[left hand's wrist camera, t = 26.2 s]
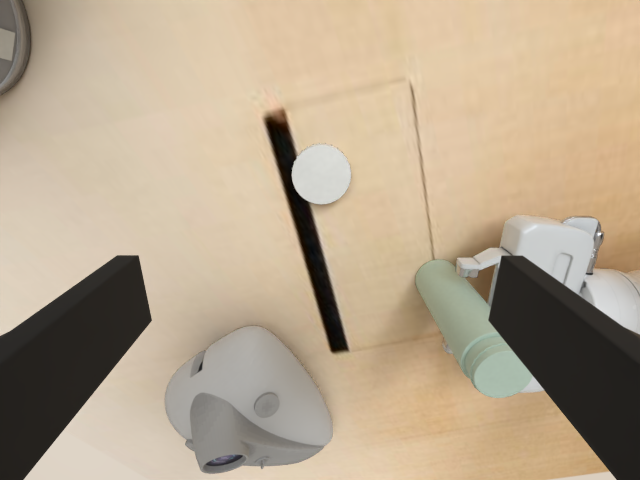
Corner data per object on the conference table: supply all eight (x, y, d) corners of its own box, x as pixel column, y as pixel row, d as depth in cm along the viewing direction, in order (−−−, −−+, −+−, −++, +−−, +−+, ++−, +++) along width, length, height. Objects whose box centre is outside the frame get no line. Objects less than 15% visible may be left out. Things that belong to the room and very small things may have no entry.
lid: (362, 170, 38) (364, 173, 36) (323, 211, 40) (323, 216, 38) (319, 129, 37) (319, 131, 35) (281, 174, 38) (278, 177, 36)
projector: (185, 434, 52) (137, 548, 38) (177, 305, 44) (112, 391, 30) (328, 444, 53) (331, 560, 39) (346, 319, 45) (357, 409, 31)
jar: (407, 272, 43) (459, 365, 27) (447, 251, 42) (525, 336, 26) (425, 304, 44) (484, 410, 28) (464, 285, 43) (547, 384, 27)
